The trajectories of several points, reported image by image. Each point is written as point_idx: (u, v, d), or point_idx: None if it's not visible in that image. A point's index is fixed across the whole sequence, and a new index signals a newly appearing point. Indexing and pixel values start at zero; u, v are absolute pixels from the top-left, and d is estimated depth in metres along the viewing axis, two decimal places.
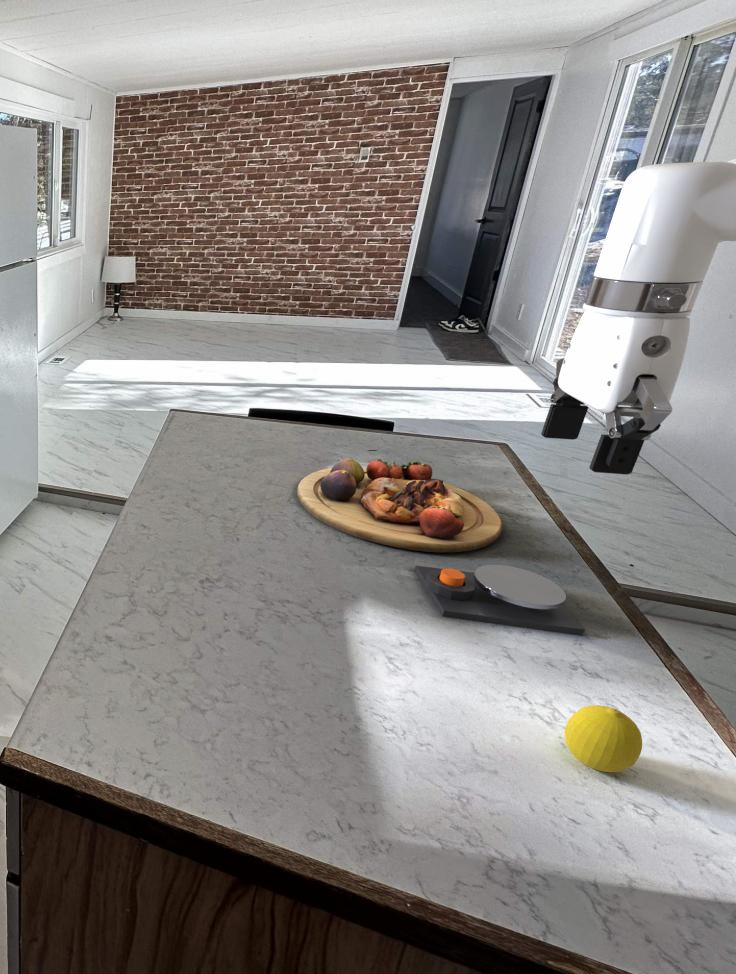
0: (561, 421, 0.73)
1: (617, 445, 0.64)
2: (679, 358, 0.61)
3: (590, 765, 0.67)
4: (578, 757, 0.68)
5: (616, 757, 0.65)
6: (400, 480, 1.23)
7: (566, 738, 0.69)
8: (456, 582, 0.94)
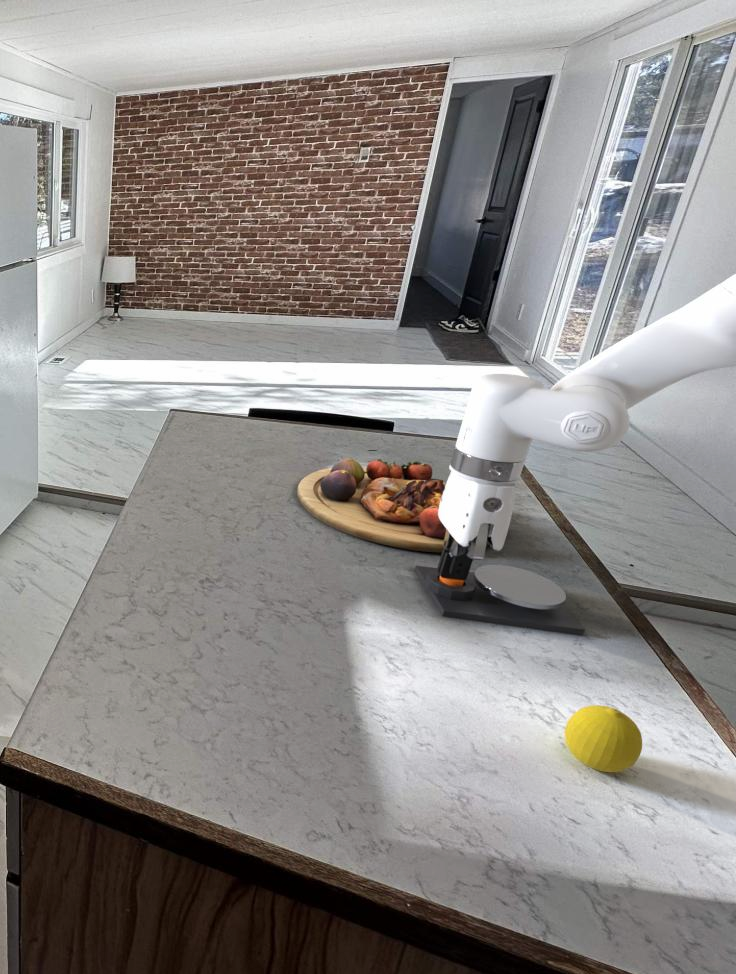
0: None
1: (455, 561, 0.93)
2: (508, 513, 0.85)
3: (590, 765, 0.67)
4: (578, 757, 0.68)
5: (616, 757, 0.65)
6: (400, 480, 1.23)
7: (566, 738, 0.69)
8: (455, 585, 0.94)
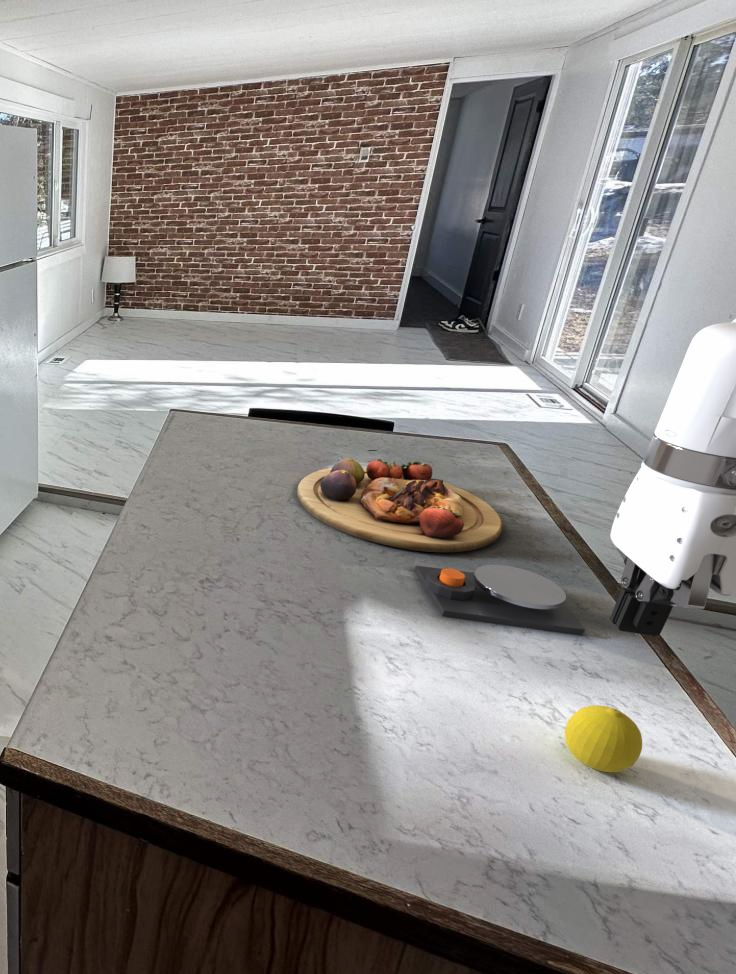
0: None
1: (645, 608, 0.62)
2: None
3: (590, 765, 0.67)
4: (578, 757, 0.68)
5: (616, 757, 0.65)
6: (400, 480, 1.23)
7: (566, 738, 0.69)
8: (456, 582, 0.94)
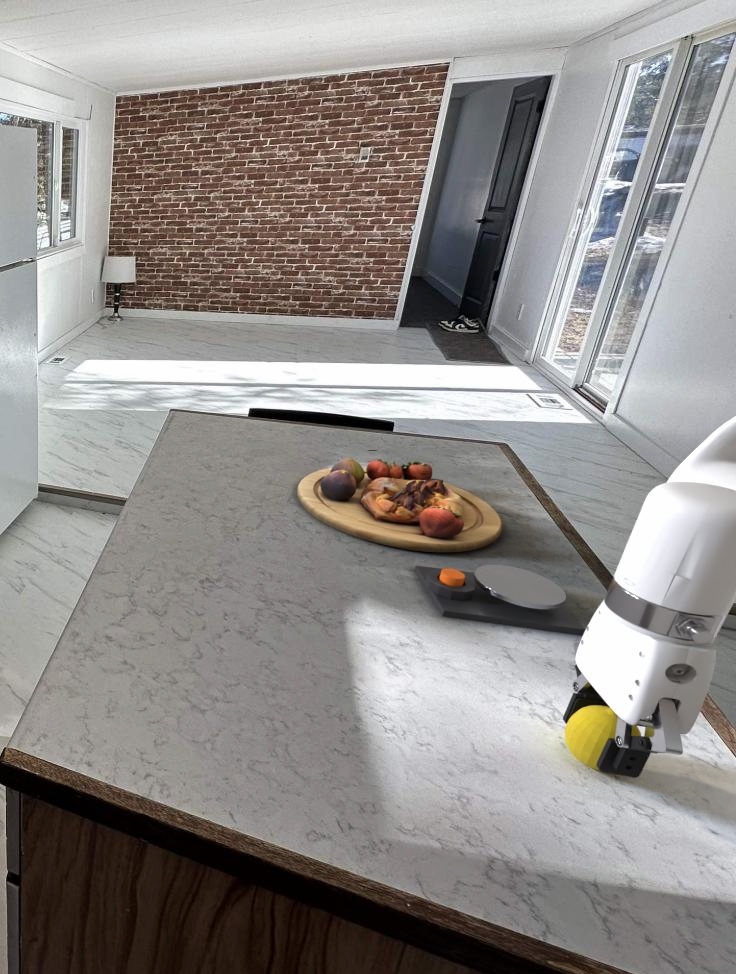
0: None
1: (624, 754, 0.63)
2: (705, 687, 0.58)
3: (590, 765, 0.67)
4: (578, 757, 0.68)
5: None
6: (400, 480, 1.23)
7: (566, 738, 0.69)
8: (456, 582, 0.94)
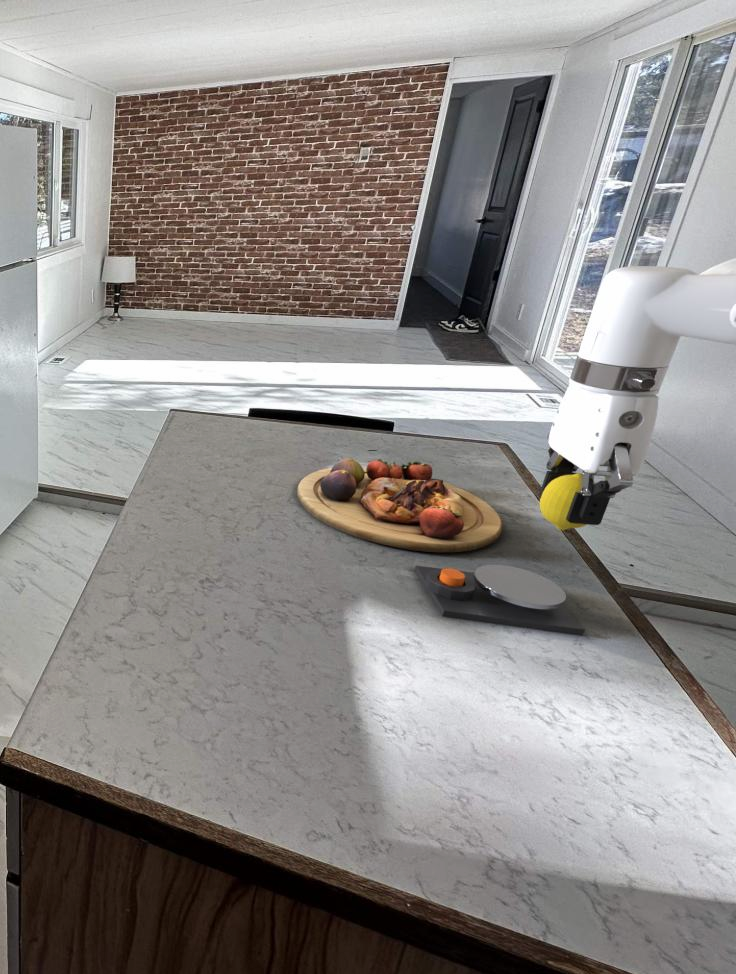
0: None
1: (588, 502, 0.77)
2: (650, 430, 0.72)
3: (560, 523, 0.81)
4: (551, 518, 0.82)
5: None
6: (400, 480, 1.23)
7: (541, 506, 0.83)
8: (456, 582, 0.94)
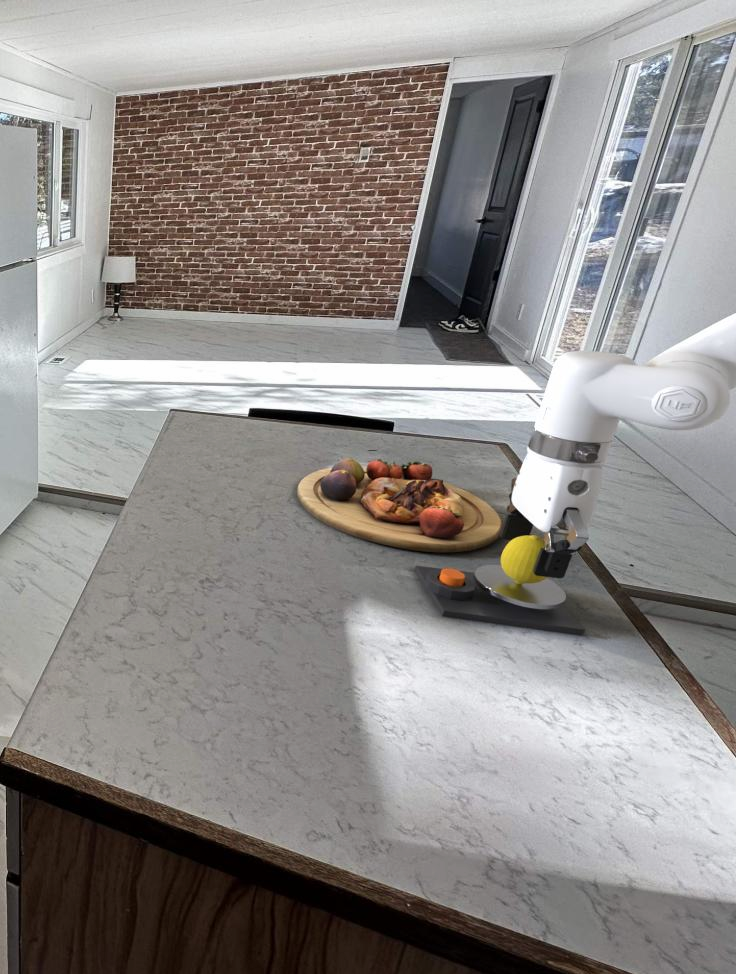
0: (515, 528, 0.94)
1: (552, 557, 0.84)
2: (595, 497, 0.81)
3: (518, 579, 0.90)
4: (509, 574, 0.91)
5: None
6: (400, 480, 1.23)
7: (501, 562, 0.92)
8: (456, 582, 0.94)
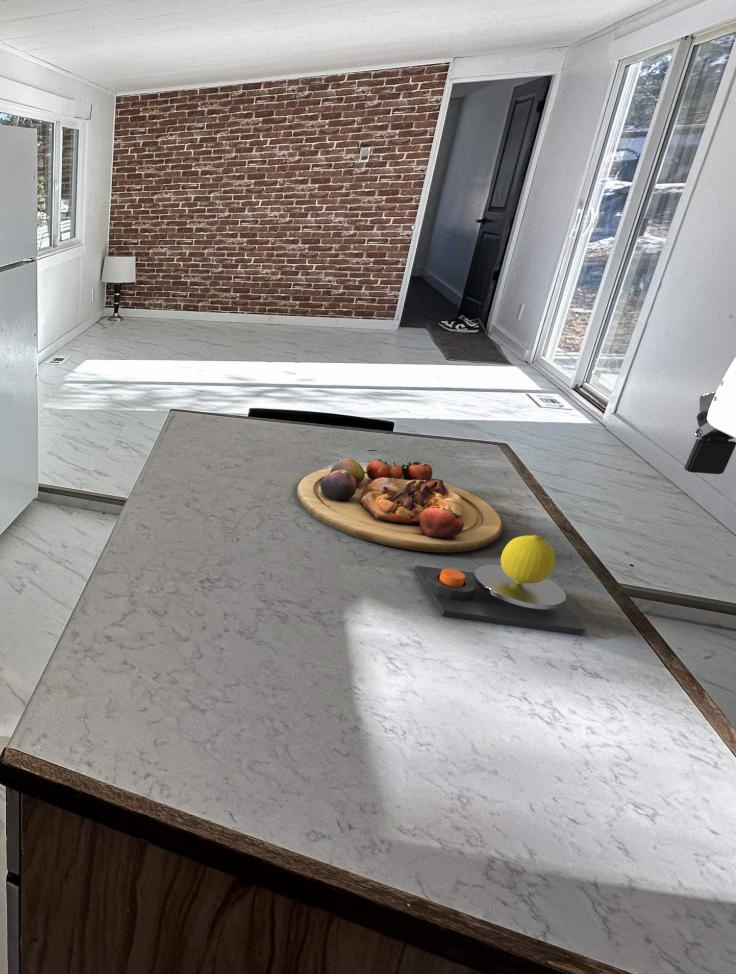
0: (707, 456, 0.74)
1: None
2: None
3: (518, 579, 0.90)
4: (509, 574, 0.91)
5: (535, 568, 0.88)
6: (400, 480, 1.23)
7: (501, 562, 0.92)
8: (456, 582, 0.94)
